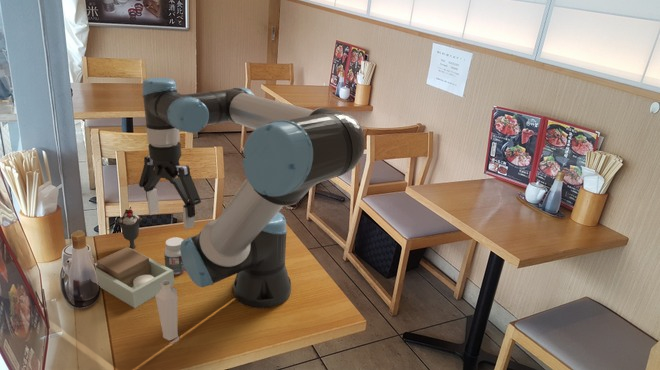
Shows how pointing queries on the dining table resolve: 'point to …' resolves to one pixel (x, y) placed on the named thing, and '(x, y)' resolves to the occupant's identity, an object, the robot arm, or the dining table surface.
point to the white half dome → (141, 280)
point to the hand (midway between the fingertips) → (171, 220)
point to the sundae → (130, 226)
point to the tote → (140, 293)
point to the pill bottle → (174, 256)
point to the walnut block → (125, 265)
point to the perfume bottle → (168, 311)
